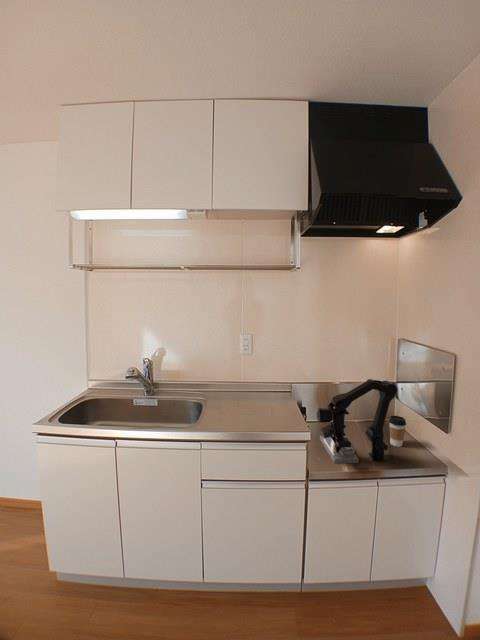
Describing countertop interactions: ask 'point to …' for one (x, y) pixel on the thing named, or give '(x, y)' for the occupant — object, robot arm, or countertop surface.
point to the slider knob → (333, 447)
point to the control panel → (340, 456)
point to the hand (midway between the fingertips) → (337, 451)
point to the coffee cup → (397, 430)
